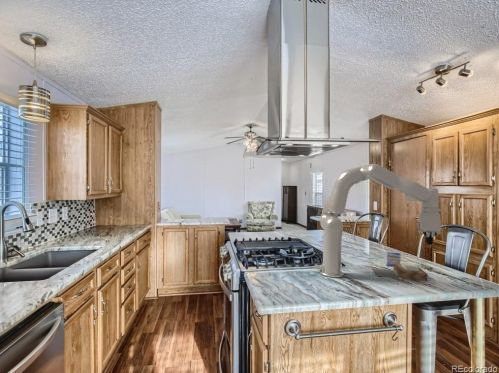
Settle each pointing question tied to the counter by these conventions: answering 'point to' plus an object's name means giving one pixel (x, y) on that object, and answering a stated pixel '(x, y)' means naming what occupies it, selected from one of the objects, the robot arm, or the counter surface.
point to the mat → (385, 273)
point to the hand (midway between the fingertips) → (429, 244)
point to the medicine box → (392, 258)
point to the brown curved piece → (410, 273)
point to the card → (409, 266)
